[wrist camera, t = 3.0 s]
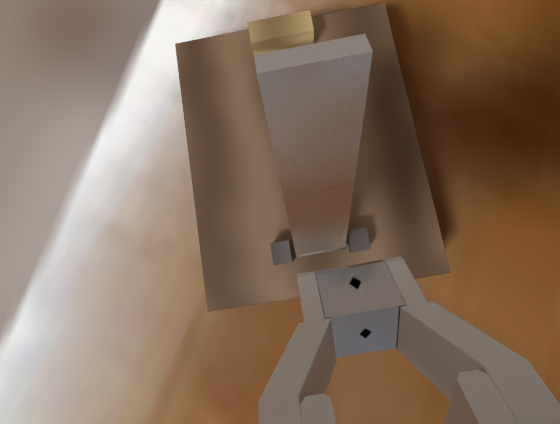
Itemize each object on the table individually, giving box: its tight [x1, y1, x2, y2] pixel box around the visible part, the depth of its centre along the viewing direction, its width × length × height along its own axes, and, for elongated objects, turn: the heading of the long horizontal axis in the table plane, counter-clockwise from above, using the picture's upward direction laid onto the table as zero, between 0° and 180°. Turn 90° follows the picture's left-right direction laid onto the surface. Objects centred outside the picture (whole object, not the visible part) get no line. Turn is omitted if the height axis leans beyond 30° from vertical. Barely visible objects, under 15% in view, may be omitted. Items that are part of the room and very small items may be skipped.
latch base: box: [175, 2, 451, 312], centre depth 24 cm, size 16×20×6 cm
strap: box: [254, 34, 373, 258], centre depth 15 cm, size 3×14×1 cm
